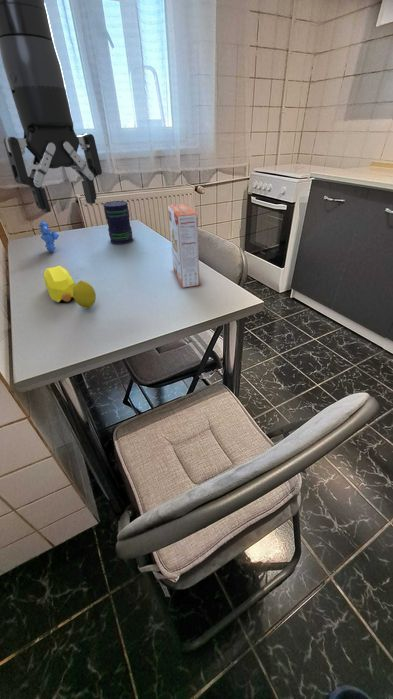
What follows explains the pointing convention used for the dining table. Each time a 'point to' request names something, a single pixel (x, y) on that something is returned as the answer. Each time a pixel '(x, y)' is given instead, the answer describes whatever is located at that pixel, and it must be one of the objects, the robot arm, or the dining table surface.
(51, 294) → the yellow faceted capsule
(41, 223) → the grapes
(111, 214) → the storage jar
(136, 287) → the dining table surface
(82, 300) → the lemon
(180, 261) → the cracker box
